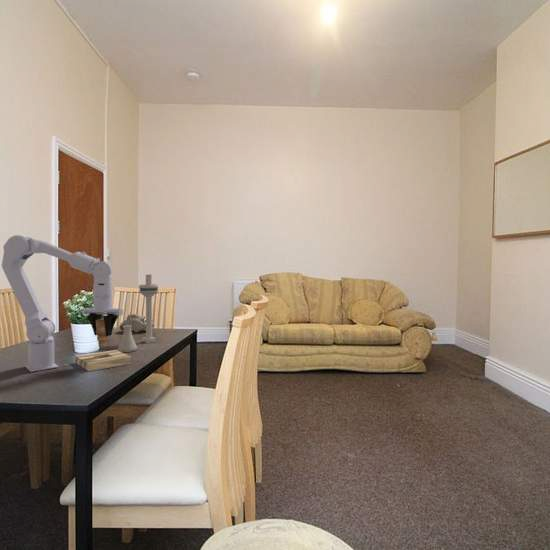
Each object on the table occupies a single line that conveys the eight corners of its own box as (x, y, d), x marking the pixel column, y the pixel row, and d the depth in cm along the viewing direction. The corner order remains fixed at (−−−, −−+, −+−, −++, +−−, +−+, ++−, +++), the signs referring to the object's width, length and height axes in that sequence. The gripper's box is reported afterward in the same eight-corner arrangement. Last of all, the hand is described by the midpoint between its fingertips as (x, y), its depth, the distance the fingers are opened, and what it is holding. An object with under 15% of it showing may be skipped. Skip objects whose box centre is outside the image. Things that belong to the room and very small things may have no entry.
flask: (128, 353, 147) (128, 327, 147) (113, 351, 149) (113, 326, 149) (141, 349, 154) (140, 325, 153) (126, 348, 156) (126, 324, 156)
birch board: (75, 363, 132) (75, 355, 132) (116, 356, 142) (116, 349, 142) (88, 371, 122) (88, 363, 122) (131, 363, 131) (131, 356, 131)
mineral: (149, 329, 186) (153, 310, 191) (114, 327, 186) (119, 308, 191) (155, 337, 197) (159, 319, 202) (122, 335, 197) (126, 317, 202)
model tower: (162, 341, 169) (161, 274, 168) (144, 344, 163) (144, 275, 162) (153, 338, 175) (152, 274, 174) (135, 341, 169) (135, 274, 168)
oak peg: (94, 346, 130) (93, 320, 129) (101, 344, 134) (100, 318, 133) (104, 346, 129) (103, 320, 129) (111, 344, 133) (110, 318, 133)
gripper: (76, 296, 129) (76, 336, 129) (113, 297, 126) (114, 338, 126) (90, 295, 136) (90, 332, 136) (126, 295, 132) (126, 334, 133)
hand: (102, 335), depth 131 cm, fingers closed on oak peg, 4 cm apart
